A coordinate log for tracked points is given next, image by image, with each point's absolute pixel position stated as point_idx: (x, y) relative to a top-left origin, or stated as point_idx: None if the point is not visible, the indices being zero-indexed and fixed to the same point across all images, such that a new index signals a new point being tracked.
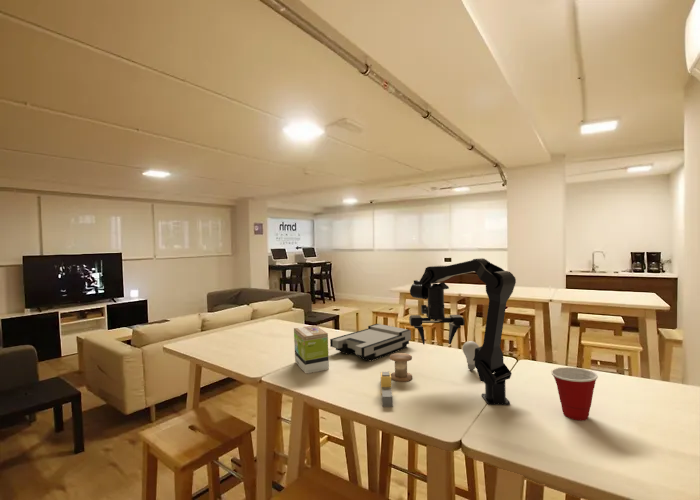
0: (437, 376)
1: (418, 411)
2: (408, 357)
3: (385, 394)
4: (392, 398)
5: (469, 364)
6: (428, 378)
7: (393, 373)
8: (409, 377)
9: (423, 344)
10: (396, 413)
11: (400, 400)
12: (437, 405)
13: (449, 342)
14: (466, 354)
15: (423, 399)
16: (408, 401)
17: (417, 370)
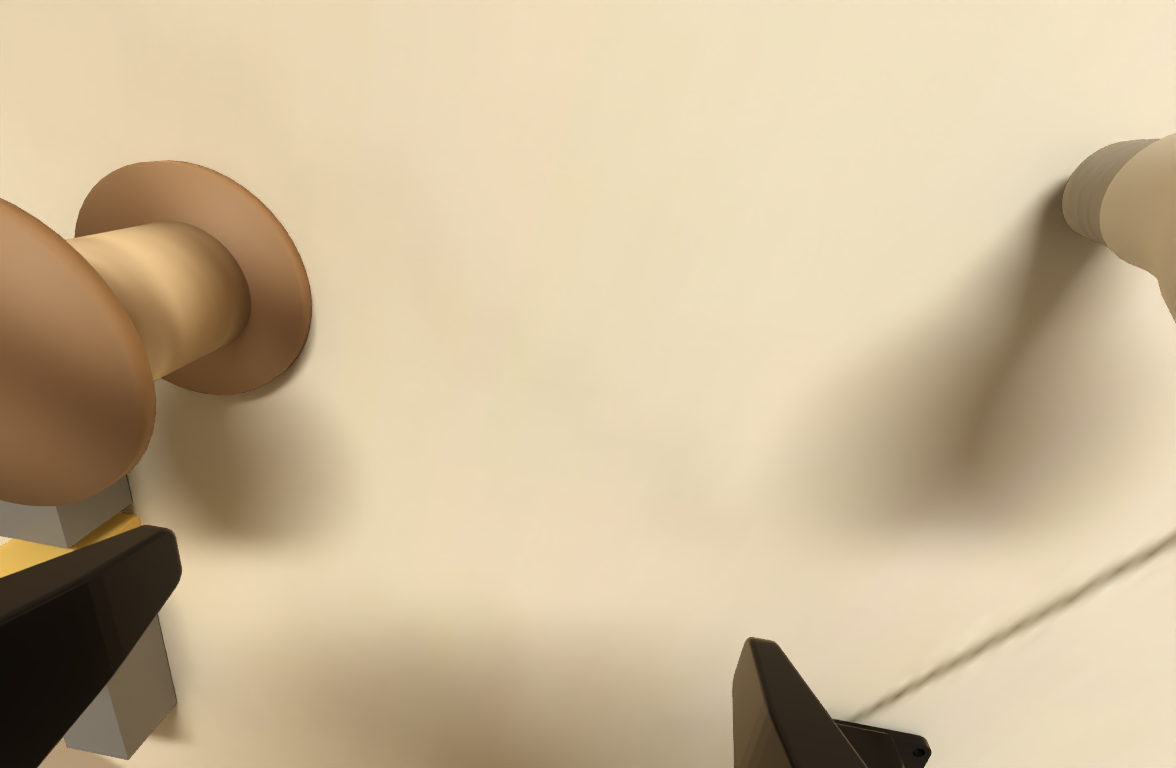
0: (576, 317)
1: (317, 764)
2: (88, 425)
3: (80, 729)
4: (137, 748)
5: (1102, 233)
6: (469, 352)
7: (102, 211)
8: (272, 345)
9: (161, 571)
10: (203, 756)
11: (217, 651)
12: (433, 740)
13: (736, 727)
14: (1162, 291)
15: (361, 669)
16: (266, 671)
17: (388, 92)
